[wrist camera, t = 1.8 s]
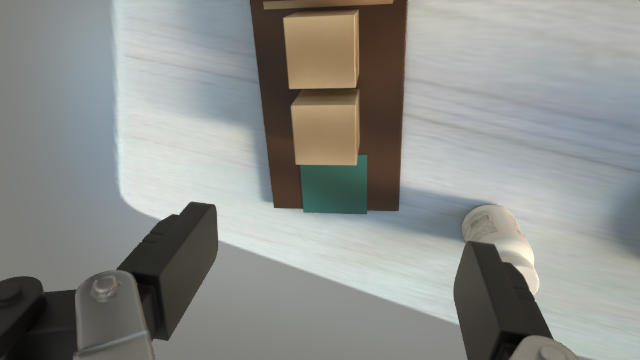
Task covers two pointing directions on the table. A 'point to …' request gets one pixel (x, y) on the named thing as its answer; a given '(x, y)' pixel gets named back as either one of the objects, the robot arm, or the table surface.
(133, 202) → the table surface
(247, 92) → the table surface
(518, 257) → the pill bottle
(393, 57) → the board
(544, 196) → the table surface
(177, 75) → the table surface
